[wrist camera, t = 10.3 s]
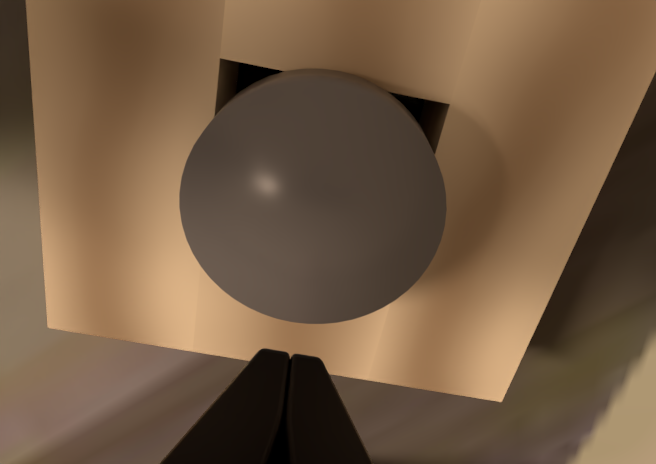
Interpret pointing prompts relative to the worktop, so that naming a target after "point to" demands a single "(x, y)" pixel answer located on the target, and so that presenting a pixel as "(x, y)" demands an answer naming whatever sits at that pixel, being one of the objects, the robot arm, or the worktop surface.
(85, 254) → the mount board
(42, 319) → the worktop surface
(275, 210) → the knob
